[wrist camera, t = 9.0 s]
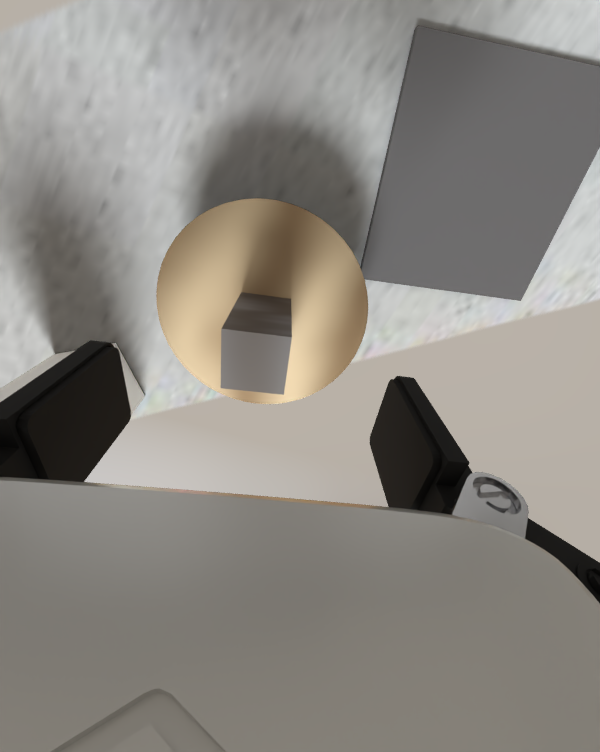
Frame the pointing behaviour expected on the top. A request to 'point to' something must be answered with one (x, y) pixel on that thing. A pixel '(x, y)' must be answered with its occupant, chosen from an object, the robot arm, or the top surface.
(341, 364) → the lid
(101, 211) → the top surface
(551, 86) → the mat
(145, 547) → the robot arm
